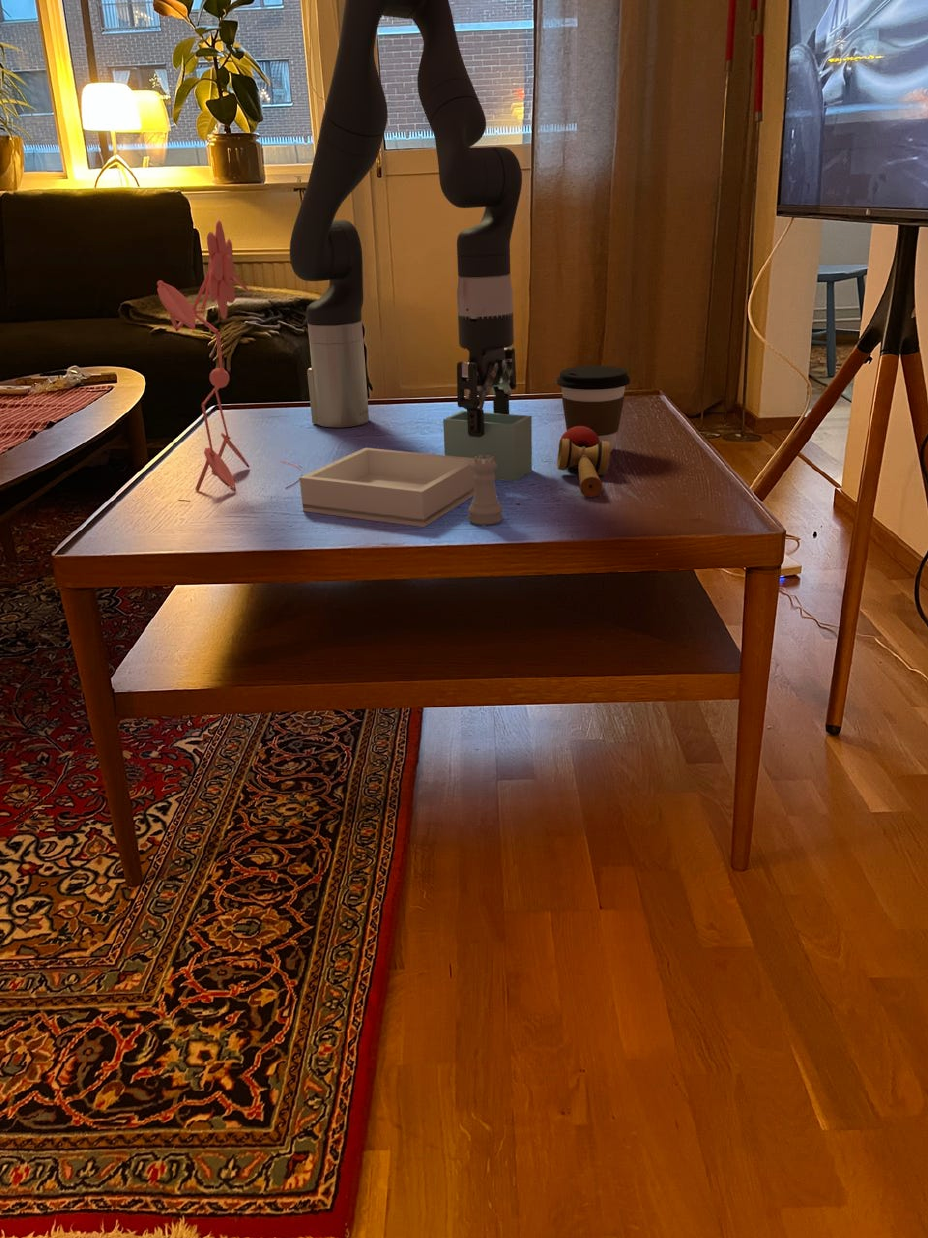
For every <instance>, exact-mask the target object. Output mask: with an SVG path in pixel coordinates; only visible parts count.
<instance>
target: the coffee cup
mask: <svg viewBox="0 0 928 1238" xmlns="http://www.w3.org/2000/svg"><path fill="white" fill-rule="evenodd" d="M630 379H631V378H630V376H629V375H628V371H627V370H626V369H624V368H621V367H616V366H608V365H607V366H606V365H583V366H574V367H569V368H565V369H563V370H561V371H560V372H559V376H558V377H557V379H556V385H558V386H559V387H561V393H562V394H561V400H562V408H563V415H564V421H565V429H566V431H567V430H569V429H570V428H572V427H576V426H584V427H588V428H590V429H591V430H593V431H594V432H595V433H596V434H597V436H598V438H599V440H600V442H601V441H605V442H609V443H610V453H611V452H612V451H613V449H614V447H615V444H616V438H617V432H619V428H620V423H621V418H622V411H623V408H624V407H623V406H624V401H625V390H626V386H627V385H629V384H630V383H631V380H630Z"/></svg>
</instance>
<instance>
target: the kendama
mask: <svg viewBox="0 0 928 1238" xmlns="http://www.w3.org/2000/svg"><path fill="white" fill-rule="evenodd" d="M558 443H559V444H558V452H557V459H556V465H557V467H556V468H557V470H558V471H566V470H568V469H569V468H574V469H578V478H579V479H578V480H579V489H580V493H581V494H582V495H583V496H584V497H586V498H595V497H597V496H599V495H600V494H601V493H602V490H603V483H602V480H601V478H600V477H599V476H606V475H607V473H608V469H609V465H610V460H611V452H610V443H609V442H605V441H601V442H600V440H599V438H598V436H597V434H596V433H595V432H594V431H593V430H591V429H590V428H588V427H584V426H576V427H572V428H570V429H569V430H566V431H565V432H564V433H563V434H562V436H561V437H560V439H559V441H558Z"/></svg>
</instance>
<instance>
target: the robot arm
mask: <svg viewBox="0 0 928 1238" xmlns="http://www.w3.org/2000/svg"><path fill="white" fill-rule="evenodd" d="M344 1H345V2H344V6H343V7H344V8H343V15H342V22H341V29H340V30H341V31H340V37H339V44H338V49H337V54H336V59H335V64H334V69H333V72H332V73H333V74H332V78H331V82H330V86H329V90H328V94H327V98H326V102H325V106H324V110H323V114H322V118H321V123H320V127H319V133H318V138H317V145H316V150H315V153H314V158H313V160H312V161H313V162H312V166H311V170H310V174H309V178H308V181H307V185H306V189H305V191H304V195H303V198H302V200H301V204H300V206H299V210H298V212H297V215H296V219H295V222H294V224H293V228H292V232H291V234H290V235H291V236H290V241H289V261H290V265H291V269H292V271H293V272H294V275H295V276H297V277H298V279H301V280H302V281H306V282H323V281H329V282H328V288H327V290H326V291H325V292H324V294H322V295H321V297H319V298H318V299H316V300H314V301H313V302H311V303H310V304H309V305H307V306H306V322H307V329H308V330H307V331H308V342H309V343H308V344H309V351H310V362H311V367H309V368H308V369H307V371H306V372H307V382H308V384H307V385H308V392H309V393H308V394H309V401H310V412H311V413H310V414H311V422H312V424H314V425H317V426H321V427H325V428H350V427H355V426H356V427H357V426H360V425H365V424H366V423H368V422H369V421H370V417H369V416H370V415H369V412H370V411H369V410H370V409H369V402H368V399H369V398H368V389H367V384H368V383H367V373H366V361H365V360H366V357H365V348H364V334H363V333H364V332H363V322H362V310H363V306H364V273H363V272H364V271H363V270H364V268H363V267H364V264H363V249H362V243H361V238H360V235H359V233H358V230H357V229H356V226H354V224H353V223H352V222H351V221H349V220H346V219H335V216H336V214H337V212H338V210H339V208H340V207H341V206H342V204H343V202H344V201H345V200H346V199H347V198H348V197H349V195H351V193H352V192H353V191H354V190H355V189H356V187H358V186H359V185H360V183H361V182H362V181H363V180H364V178H365V177H366V176H367V175H368V173H369V172H370V171H371V169H372V168H373V167H374V164H375V163H376V161H377V159H378V156H379V153H380V150H381V146H382V142H383V140H384V139H383V138H384V135H385V133H386V132H385V131H386V127H387V124H388V117H389V116H388V115H389V114H388V104H387V103H388V102H387V99H386V96H385V92H384V88H383V85H382V82H381V79H380V75H379V73H378V72H379V71H378V68H377V65H376V60H375V59H376V58H375V46H376V45H375V44H376V37H377V31H378V27H379V23H380V21H381V18H382V17H389V18H390V17H391V18H397V19H405V20H410V19H411V21H412V22H413V23H414V24H415V25H416V28H417V29H418V31H419V33H420V34H421V37H422V40H423V47H422V48H423V49H422V54H421V57H420V61H419V66H418V71H417V79H416V83H417V93H418V96H419V100H420V104H421V107H422V109H423V111H424V114H425V116H426V119H427V121H428V124H429V126H430V130H432V131H431V132H432V134H433V135H434V143H435V149H436V157H437V165H438V167H437V168H438V178H439V186H440V188H441V189H440V190H441V192H442V194H443V196H444V198H446V200H447V201H448V202H449V203H450V204H451V205H452V206H454V207H456V208H460V209H472V208H473V209H474V208H484V212H483V215H482V218H481V221H480V222H479V223H478V224H476V225H474V226H471V227H469V228H465V229H464V230H462V231H460V232H459V233H458V235H457V240H456V255H457V257H456V259H457V290H456V299H457V300H456V302H457V303H456V304H457V324H458V325H457V327H458V344H459V347H460V348H461V349H463V350H467V351H468V352H469V354H468V361H458V362H457V363H456V390H457V391H456V392H457V393H456V394H457V396H456V397H457V399H456V400H457V407H458V408H462V409H463V410H464V409H465V410H466V411H467V423H468V435H469V436H470V437H482V436H483V435H484V405H485V401H486V398H487V396H489V395H490V394H491V393H492V395H493V398H492V403H493V405H492V407H493V413H499V414H510V397H511V396H512V391H515V390H516V388H517V372H516V371H517V370H516V369H517V368H516V350H515V348H514V347H511V346H512V345H513V344H514V343H515V342H514V341H515V340H514V339H515V338H514V336H515V335H514V334H515V333H514V331H515V330H514V293H513V292H514V291H513V285H512V278H511V276H512V275H511V238H512V233H513V229H514V223H515V220H516V214H517V209H518V205H519V201H520V197H521V194H522V193H521V192H522V185H523V173H522V168H521V164H520V161H519V159H518V157H517V155H516V154H515V153H514V151H512V150H511V149H509V148H507V147H505V146H488V147H487V146H485V147H483V146H481V147H473V146H474V145H475V144H477V143H478V142H479V141H480V140H481V139H482V137H483V136H484V134H485V133H486V130H487V129H486V128H487V120H486V118H487V117H486V114H485V113H484V110H483V107H482V105H481V102H480V100H479V97H478V95H477V92H476V90H475V88H474V85H473V82H472V80H471V78H470V76H469V73H468V71H467V68H466V65H465V62H464V59H463V56H462V53H461V49H460V46H459V41H458V37H457V31H456V28H455V23H454V17H453V13H452V9H451V5H450V1H449V0H344ZM465 392H466V393H465Z"/></svg>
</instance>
